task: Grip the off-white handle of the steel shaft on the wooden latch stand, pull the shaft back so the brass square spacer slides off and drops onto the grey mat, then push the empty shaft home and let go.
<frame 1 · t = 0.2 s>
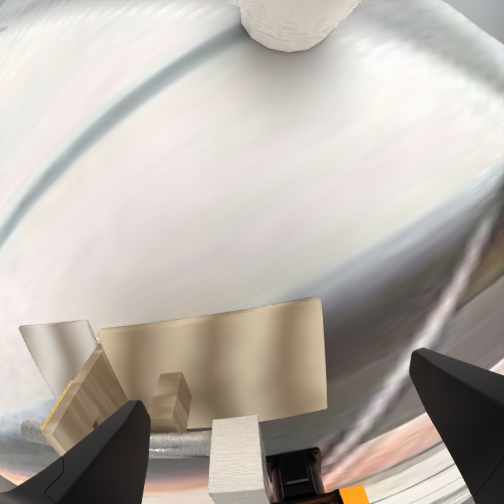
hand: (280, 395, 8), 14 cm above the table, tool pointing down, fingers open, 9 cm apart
orange juice: (330, 498, 34), on the table
wooden latch stand: (148, 380, 25), on the table
white cup: (284, 18, 17), on the table
shaft: (113, 463, 15), point 10 cm above the table, slide at 0.0 cm, touching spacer
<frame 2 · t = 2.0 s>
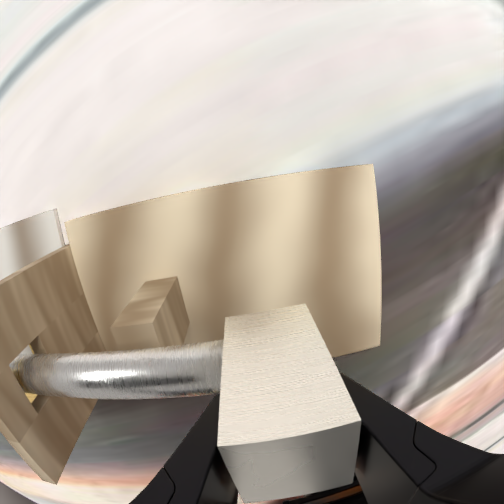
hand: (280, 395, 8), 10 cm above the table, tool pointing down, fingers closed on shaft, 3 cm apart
wooden latch stand: (128, 301, 18), on the table
shaft: (47, 403, 8), point 10 cm above the table, slide at 0.0 cm, touching gripper, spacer
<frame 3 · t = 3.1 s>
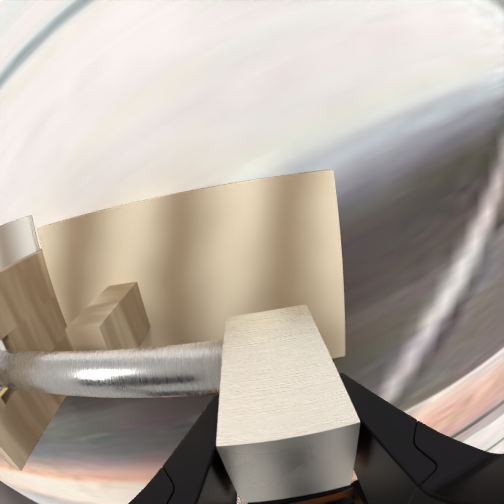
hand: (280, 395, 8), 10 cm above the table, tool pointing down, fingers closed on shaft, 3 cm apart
wooden latch stand: (96, 304, 18), on the table
shaft: (46, 400, 8), point 10 cm above the table, slide at 2.6 cm, touching gripper
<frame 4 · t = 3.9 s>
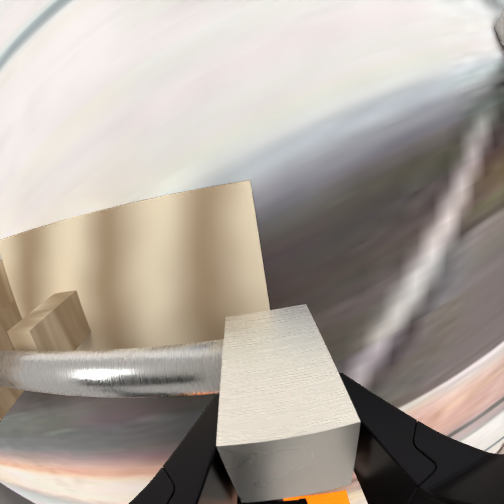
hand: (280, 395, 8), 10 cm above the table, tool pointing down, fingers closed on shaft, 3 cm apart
wooden latch stand: (49, 309, 18), on the table
shaft: (46, 400, 8), point 10 cm above the table, slide at 7.2 cm, touching gripper
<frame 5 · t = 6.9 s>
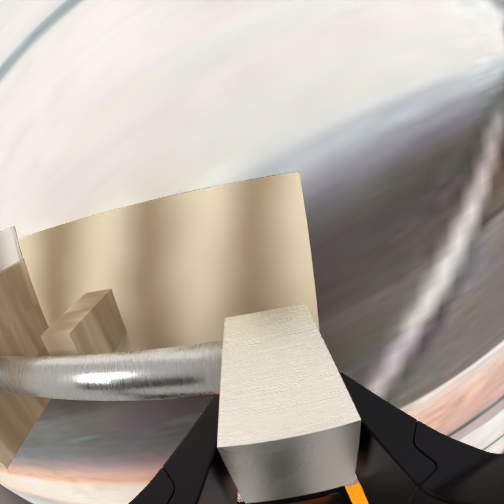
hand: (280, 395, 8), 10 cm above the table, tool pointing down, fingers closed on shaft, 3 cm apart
orange juice: (332, 499, 27), on the table
wooden latch stand: (76, 310, 18), on the table
shaft: (48, 405, 8), point 10 cm above the table, slide at 4.3 cm, touching gripper
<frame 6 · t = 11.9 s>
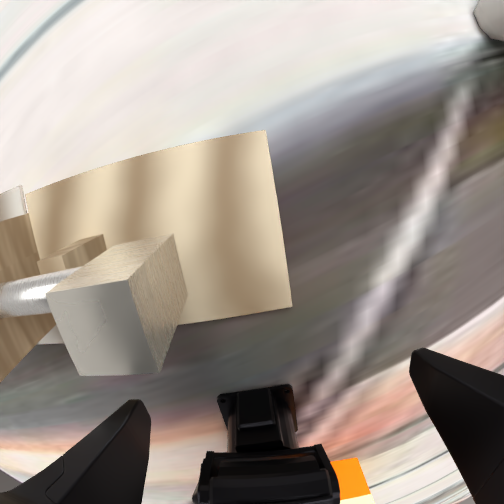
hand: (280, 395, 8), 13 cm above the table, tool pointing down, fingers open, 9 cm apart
orange juice: (316, 476, 29), on the table
wooden latch stand: (71, 259, 20), on the table
salt shaker: (485, 23, 16), on the table
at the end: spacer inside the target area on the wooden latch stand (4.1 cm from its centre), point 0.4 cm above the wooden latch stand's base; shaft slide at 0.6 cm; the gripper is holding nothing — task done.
